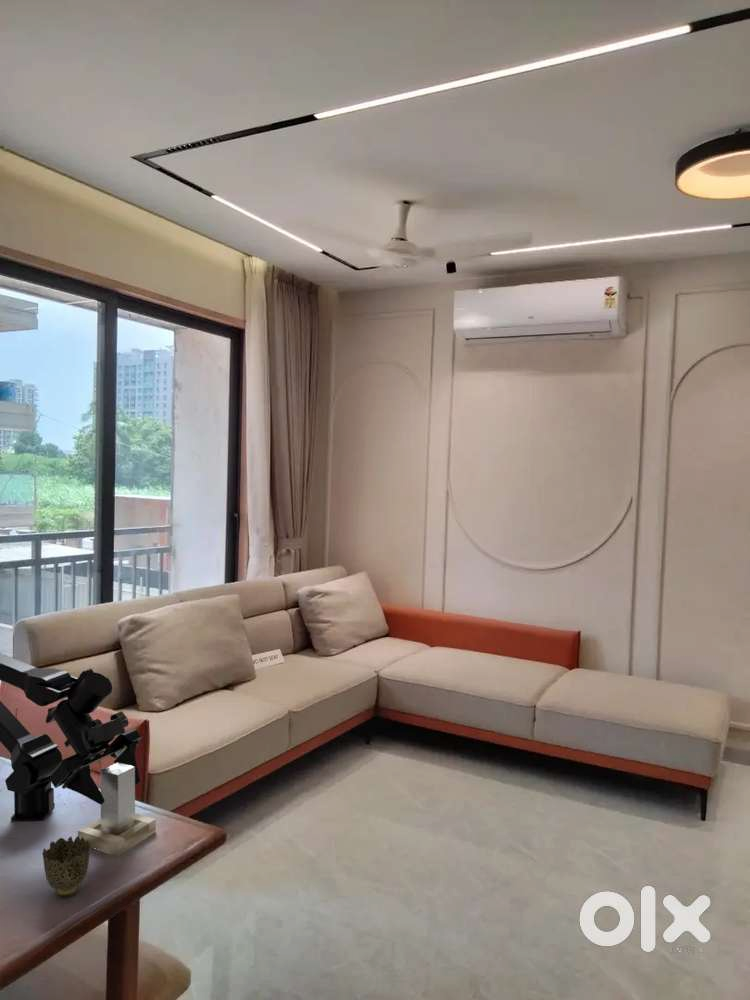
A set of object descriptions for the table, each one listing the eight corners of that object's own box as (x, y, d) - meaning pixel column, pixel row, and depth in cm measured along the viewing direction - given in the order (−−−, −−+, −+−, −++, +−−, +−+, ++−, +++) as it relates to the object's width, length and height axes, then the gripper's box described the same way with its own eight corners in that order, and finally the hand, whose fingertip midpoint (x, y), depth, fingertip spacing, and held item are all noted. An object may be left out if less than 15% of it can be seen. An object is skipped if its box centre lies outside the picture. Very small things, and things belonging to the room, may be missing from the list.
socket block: (78, 845, 139) (77, 830, 139) (117, 822, 148) (117, 808, 148) (117, 858, 134) (117, 843, 134) (155, 834, 143) (155, 819, 143)
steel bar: (100, 837, 140) (100, 770, 139) (117, 827, 144) (117, 762, 143) (118, 842, 138) (118, 775, 138) (135, 832, 142) (134, 766, 142)
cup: (73, 909, 119) (73, 861, 118) (33, 903, 120) (32, 856, 120) (99, 883, 126) (99, 838, 125) (61, 878, 127) (61, 833, 127)
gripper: (60, 718, 133) (106, 789, 129) (134, 689, 150) (177, 751, 146) (30, 752, 137) (74, 823, 133) (106, 720, 154) (146, 782, 150)
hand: (121, 792), depth 140 cm, fingers open, 9 cm apart
